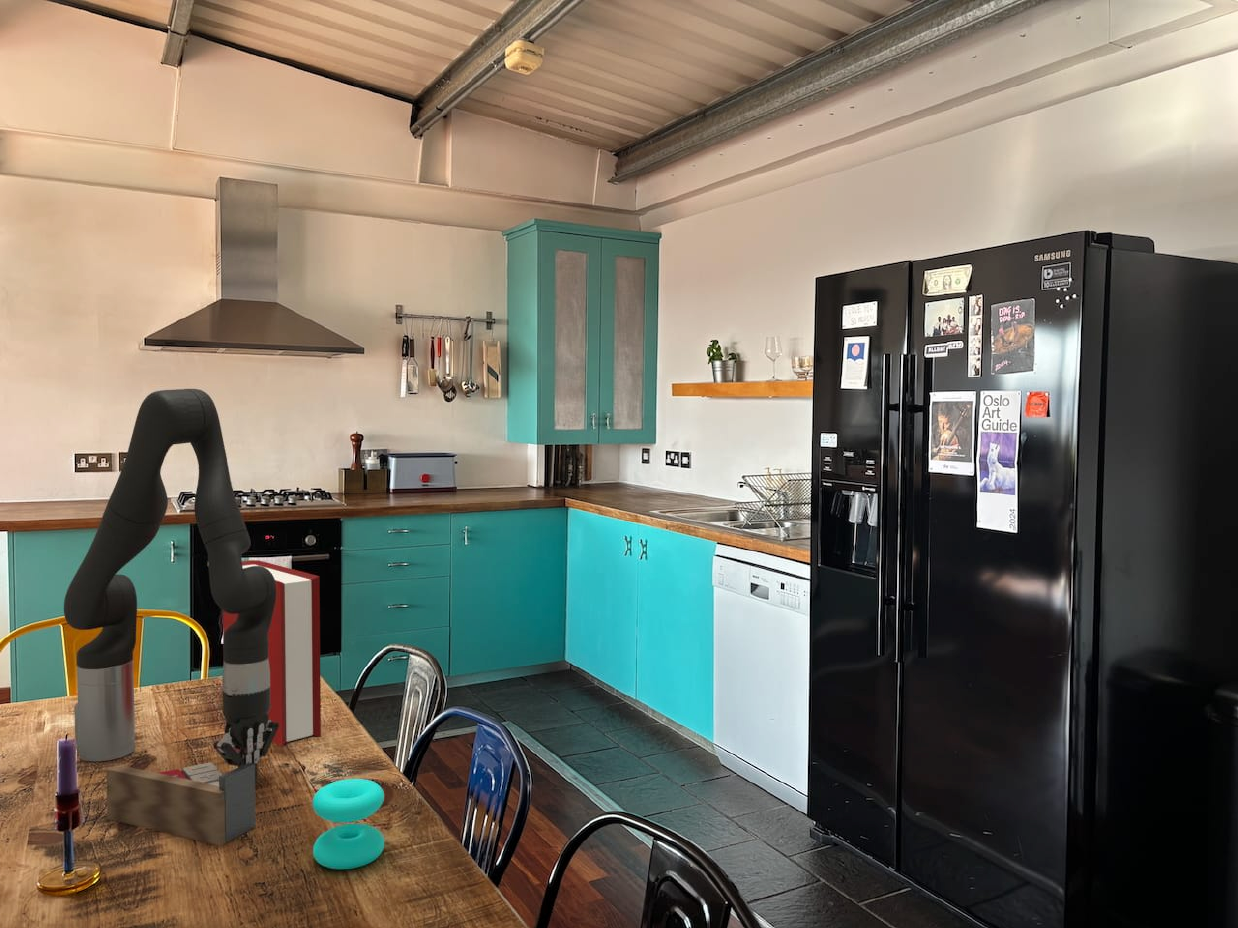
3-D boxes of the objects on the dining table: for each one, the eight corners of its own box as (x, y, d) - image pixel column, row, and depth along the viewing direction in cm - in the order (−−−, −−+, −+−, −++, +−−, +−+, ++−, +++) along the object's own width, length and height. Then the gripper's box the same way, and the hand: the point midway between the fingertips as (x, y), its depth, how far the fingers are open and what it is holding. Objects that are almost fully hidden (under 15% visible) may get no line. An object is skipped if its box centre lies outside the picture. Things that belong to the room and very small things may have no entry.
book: (321, 736, 186) (319, 576, 184) (282, 747, 180) (280, 581, 178) (258, 705, 205) (256, 559, 203) (221, 713, 199) (219, 563, 197)
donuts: (347, 809, 129) (297, 793, 134) (348, 879, 130) (298, 861, 135) (398, 784, 138) (349, 770, 143) (399, 850, 139) (350, 834, 144)
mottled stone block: (107, 818, 148) (105, 768, 148) (144, 801, 155) (143, 753, 154) (220, 845, 139) (219, 793, 139) (255, 826, 146) (254, 776, 145)
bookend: (220, 841, 141) (218, 776, 140) (249, 825, 146) (248, 762, 146) (226, 843, 140) (225, 777, 140) (255, 826, 146) (254, 763, 145)
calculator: (213, 759, 165) (236, 782, 153) (214, 783, 165) (237, 809, 153) (144, 773, 158) (162, 799, 146) (145, 798, 158) (163, 826, 146)
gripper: (258, 672, 167) (260, 768, 168) (198, 693, 155) (200, 796, 156) (291, 678, 164) (292, 775, 165) (233, 699, 152) (234, 804, 153)
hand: (247, 785), depth 160 cm, fingers closed
